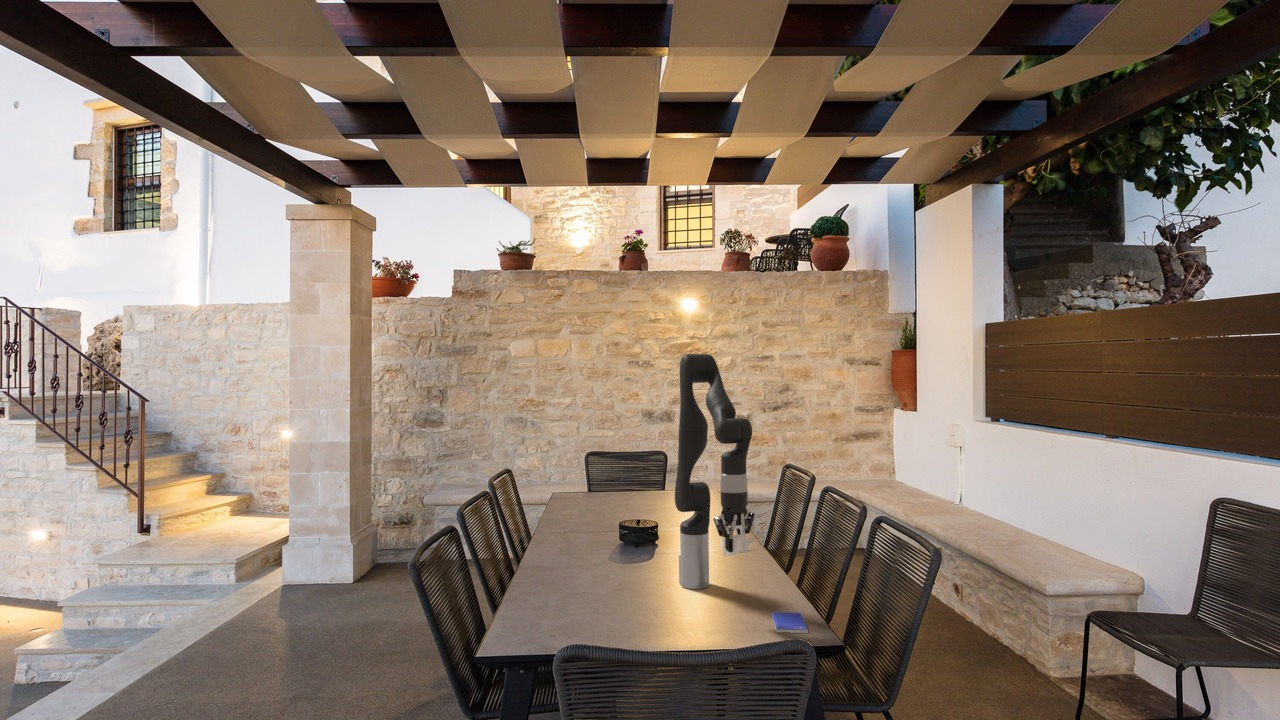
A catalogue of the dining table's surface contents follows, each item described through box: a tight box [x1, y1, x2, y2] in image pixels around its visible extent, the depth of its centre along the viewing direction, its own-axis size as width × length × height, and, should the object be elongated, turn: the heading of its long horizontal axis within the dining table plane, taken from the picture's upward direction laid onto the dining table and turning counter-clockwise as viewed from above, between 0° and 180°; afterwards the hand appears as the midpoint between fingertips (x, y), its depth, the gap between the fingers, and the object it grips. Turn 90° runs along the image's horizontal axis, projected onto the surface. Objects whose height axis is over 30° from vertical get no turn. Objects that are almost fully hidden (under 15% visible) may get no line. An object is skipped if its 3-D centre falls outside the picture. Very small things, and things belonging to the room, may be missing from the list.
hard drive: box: [771, 612, 809, 634], centre depth 190 cm, size 2×8×12 cm
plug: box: [720, 534, 753, 558], centre depth 194 cm, size 11×3×5 cm, turn 33°
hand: (734, 550), depth 195 cm, fingers closed on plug, 3 cm apart
